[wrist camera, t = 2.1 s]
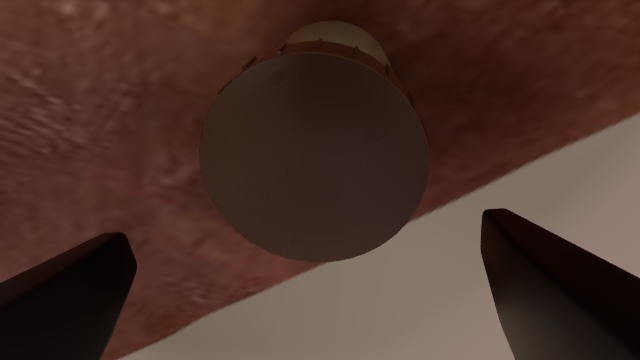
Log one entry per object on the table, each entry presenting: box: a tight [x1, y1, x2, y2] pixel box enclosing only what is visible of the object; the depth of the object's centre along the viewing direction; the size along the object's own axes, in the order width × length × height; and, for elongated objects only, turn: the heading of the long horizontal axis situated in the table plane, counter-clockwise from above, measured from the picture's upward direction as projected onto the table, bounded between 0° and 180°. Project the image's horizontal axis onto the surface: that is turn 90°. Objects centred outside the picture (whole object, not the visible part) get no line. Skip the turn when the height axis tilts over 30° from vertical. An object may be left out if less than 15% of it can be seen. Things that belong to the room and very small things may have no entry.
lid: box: [199, 38, 429, 262], centre depth 13 cm, size 7×7×2 cm
